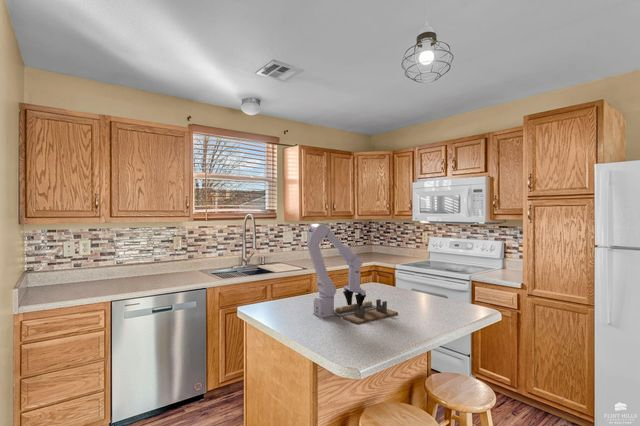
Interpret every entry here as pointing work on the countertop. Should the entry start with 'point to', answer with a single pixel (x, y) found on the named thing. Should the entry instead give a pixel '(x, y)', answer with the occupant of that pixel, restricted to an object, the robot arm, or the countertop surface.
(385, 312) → the hook stand
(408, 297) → the countertop surface
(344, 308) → the rail
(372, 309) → the mat
